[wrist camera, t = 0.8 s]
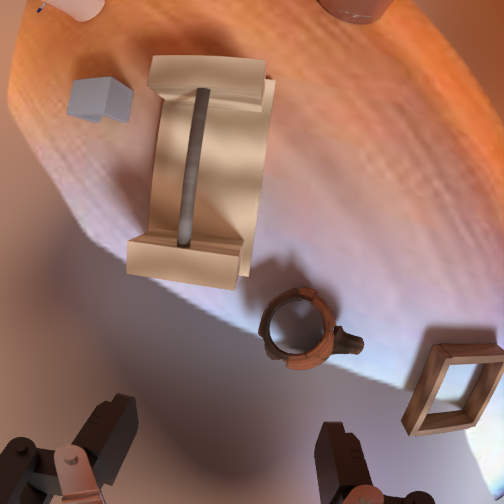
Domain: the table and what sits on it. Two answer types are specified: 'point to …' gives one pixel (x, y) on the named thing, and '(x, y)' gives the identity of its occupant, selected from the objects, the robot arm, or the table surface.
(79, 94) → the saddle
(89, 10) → the drinking glass
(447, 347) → the open wooden frame
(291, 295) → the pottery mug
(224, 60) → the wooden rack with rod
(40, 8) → the ballpoint pen
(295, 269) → the table surface
